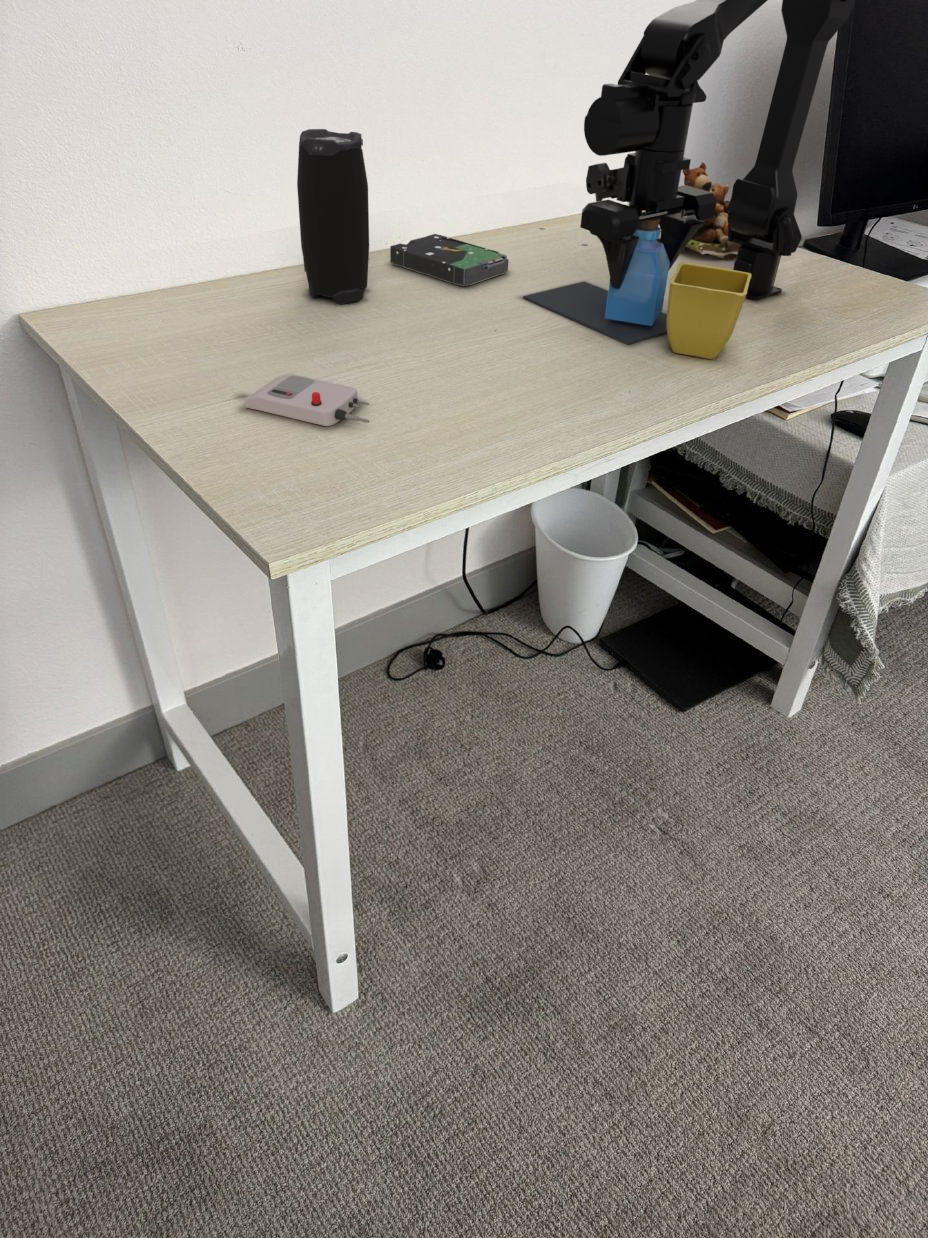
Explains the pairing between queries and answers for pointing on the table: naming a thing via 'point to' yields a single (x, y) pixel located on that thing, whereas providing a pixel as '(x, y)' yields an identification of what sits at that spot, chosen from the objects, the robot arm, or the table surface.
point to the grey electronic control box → (306, 400)
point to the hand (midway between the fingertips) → (638, 281)
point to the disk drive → (449, 259)
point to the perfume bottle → (641, 280)
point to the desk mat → (595, 312)
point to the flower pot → (704, 308)
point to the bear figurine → (714, 229)
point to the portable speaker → (333, 214)
